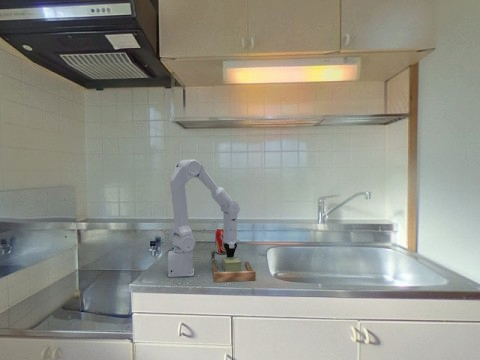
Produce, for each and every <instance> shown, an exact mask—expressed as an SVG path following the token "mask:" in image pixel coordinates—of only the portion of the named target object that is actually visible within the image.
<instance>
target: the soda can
mask: <svg viewBox="0 0 480 360" xmlns="http://www.w3.org/2000/svg"><path fill="white" fill-rule="evenodd" d="M214 234H215V236H214V237H215V241H214V242H215V245H214V247H215V253H218V254H220V255H226V250H225V248H224V245H223V244H224V243H225V242H223V226H217V227H216V230H215V233H214Z"/></svg>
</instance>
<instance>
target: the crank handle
mask: <svg viewBox="0 0 480 360" xmlns="http://www.w3.org/2000/svg"><path fill="white" fill-rule="evenodd" d="M215 253H216V251H214V250H213V251H211V252H210V254H211V256H210V257H211V264H213V263H216V257H215V256H216V255H215Z"/></svg>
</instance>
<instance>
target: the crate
mask: <svg viewBox="0 0 480 360" xmlns="http://www.w3.org/2000/svg"><path fill="white" fill-rule="evenodd" d="M222 269H223V270H224V272H236V271H242V261H241V259H239V258H238V256H234V257H227V256H226V257H222Z"/></svg>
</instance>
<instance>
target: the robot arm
mask: <svg viewBox="0 0 480 360" xmlns="http://www.w3.org/2000/svg"><path fill="white" fill-rule="evenodd" d="M193 178H194V179H198V180H199V181H200V182H201V183H202V184H203V185H204V186H205V187H206V188H207V189H208V190H209V191H210V192H211V198H212V199H213V200H214V201H215V202H216V203H217V205H218V206H219V207H220V210H221V212H222V214H223V215H222V216H223V222H222V223H223V225H222V227H223V242H225V243H224V244H223V245H224V248H225V250H226V254H225V255H226V258H227V257H235V252H236V251H237V248H238V243H237V242H240V240H241V238H238V216H239V215H238V214H239V213H240V210H241V207H240V206H239V203H238V202H236V201H234V200H233V199H234V198H233V197H232V196H230V195H229V194H228V193H227V189H226V188H223V187H222V186H218V185H217V184H216V182H215V181H214V180H213V178H212V177H211V176H210V175H209V173H208V172H207V170H206V169H205V167H204V166H203V165H202V164H201V163H200V161H198V160H197V159H193V158H192V159H181V160H180V161H178V162H177V163H176V164H175V165H174V170H173V172H172V175H171V177H170V180H169V181H170V182H169V184H170V192H171V193H170V194H171V201H172V214H173V219H174V220H173V221H174V222H173V223H174V227H173V229H172V236H171V243H172V246H173V250H169V251H168V254H167V255H168V257H167V277H168V278H176V277H178V278H179V277H193V276H194V274H195V268H194V259H193V258H194V252H193V251H194V249H195V247H196V239H195V237H194V234H193V231H192V229H191V227H190V223H189V216H188V215H189V213H188V205H187V204H188V203H187V193H186V185H187V183H188V182H190V180H191V179H193Z"/></svg>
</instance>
